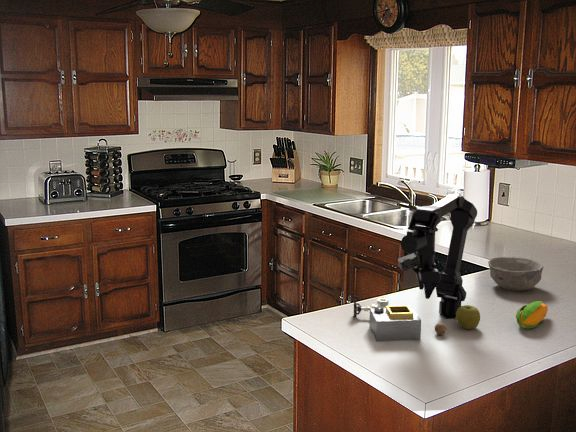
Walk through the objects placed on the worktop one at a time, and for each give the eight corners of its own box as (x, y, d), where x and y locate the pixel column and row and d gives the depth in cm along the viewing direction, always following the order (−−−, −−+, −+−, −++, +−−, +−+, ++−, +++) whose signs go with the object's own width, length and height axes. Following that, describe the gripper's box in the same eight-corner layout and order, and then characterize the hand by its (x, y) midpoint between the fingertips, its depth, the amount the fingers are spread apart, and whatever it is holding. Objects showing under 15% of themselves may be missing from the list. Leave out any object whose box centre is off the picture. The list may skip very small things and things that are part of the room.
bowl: (475, 284, 251) (476, 260, 249) (514, 277, 260) (515, 254, 258) (513, 299, 233) (515, 273, 231) (554, 291, 241) (555, 266, 239)
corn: (511, 307, 202) (535, 292, 217) (508, 328, 204) (532, 312, 219) (534, 313, 198) (556, 297, 212) (531, 336, 199) (553, 318, 214)
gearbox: (411, 326, 208) (411, 302, 206) (420, 340, 196) (421, 315, 194) (369, 327, 207) (369, 303, 205) (376, 341, 195) (376, 316, 194)
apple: (469, 322, 211) (470, 302, 209) (484, 330, 203) (486, 309, 202) (450, 325, 208) (451, 305, 206) (465, 333, 201) (466, 312, 199)
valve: (388, 314, 218) (353, 314, 220) (388, 296, 217) (353, 296, 218) (389, 321, 212) (353, 320, 213) (389, 303, 211) (353, 302, 212)
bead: (444, 332, 202) (445, 321, 201) (448, 336, 198) (448, 325, 198) (433, 332, 202) (433, 321, 201) (436, 337, 198) (436, 325, 197)
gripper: (395, 240, 207) (394, 285, 211) (405, 255, 189) (404, 304, 192) (428, 239, 207) (427, 284, 211) (442, 254, 189) (440, 303, 192)
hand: (424, 293), depth 201 cm, fingers open, 9 cm apart
